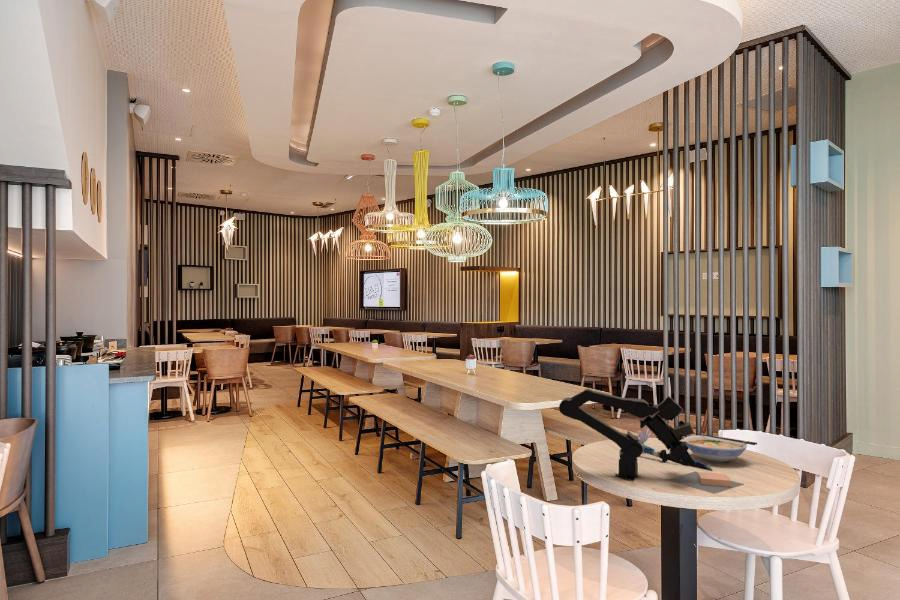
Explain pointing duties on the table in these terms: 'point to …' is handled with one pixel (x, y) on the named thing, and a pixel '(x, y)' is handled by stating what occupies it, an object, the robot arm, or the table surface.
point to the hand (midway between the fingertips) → (694, 464)
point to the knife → (666, 457)
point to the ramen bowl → (716, 447)
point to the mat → (694, 482)
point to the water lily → (644, 435)
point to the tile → (714, 479)
